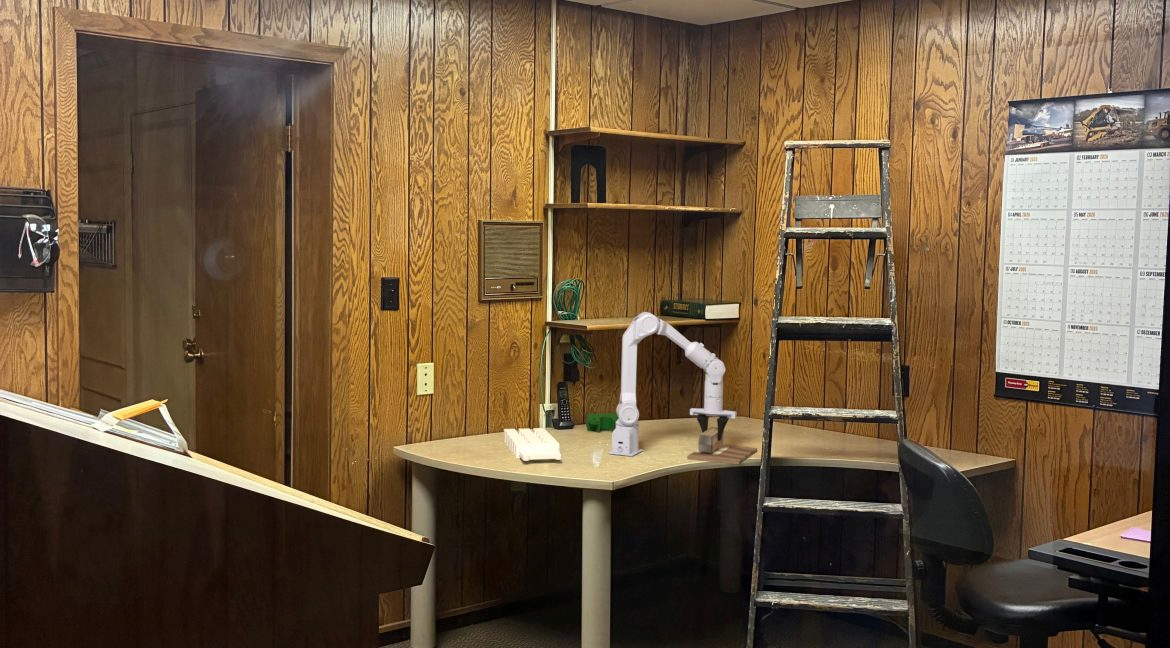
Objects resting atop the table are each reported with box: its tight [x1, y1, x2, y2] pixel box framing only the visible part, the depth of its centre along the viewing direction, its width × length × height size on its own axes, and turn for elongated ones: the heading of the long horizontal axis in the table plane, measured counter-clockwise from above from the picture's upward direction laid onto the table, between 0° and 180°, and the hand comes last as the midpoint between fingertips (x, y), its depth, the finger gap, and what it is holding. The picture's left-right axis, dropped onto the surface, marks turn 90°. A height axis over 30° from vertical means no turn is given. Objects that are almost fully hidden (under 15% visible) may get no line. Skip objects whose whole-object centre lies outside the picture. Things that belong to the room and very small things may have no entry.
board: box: [686, 444, 758, 465], centre depth 316 cm, size 22×16×1 cm
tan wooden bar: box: [698, 426, 725, 453], centre depth 318 cm, size 4×14×5 cm, turn 156°
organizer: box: [503, 427, 562, 462], centre depth 316 cm, size 13×5×35 cm
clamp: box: [585, 412, 619, 433], centre depth 354 cm, size 12×6×9 cm, turn 98°
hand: (712, 439), depth 319 cm, fingers closed on tan wooden bar, 4 cm apart
